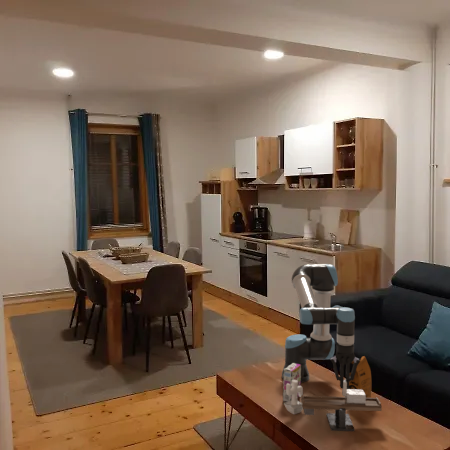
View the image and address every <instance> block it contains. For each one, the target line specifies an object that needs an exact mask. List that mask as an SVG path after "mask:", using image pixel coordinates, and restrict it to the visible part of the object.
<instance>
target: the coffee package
mask: <svg viewBox="0 0 450 450" xmlns="http://www.w3.org/2000/svg"><path fill="white" fill-rule="evenodd" d="M359 360H360V362H359V364H358V365H357V369H356V373H355V376H354V380H353V381H352V380H351V381H350V382H349V389H356V390H363V391H364V393H365V395H366V398H372V384H373V383H372V371H371V367H370V365H369V363H368V360H367V358H366V356H365V355H364V356H361V358H360V359H359ZM353 363H354V360H353V361H352V362H351V364H352V365H353ZM350 374H351V372H350Z"/></svg>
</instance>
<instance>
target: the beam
mask: <svg viewBox="0 0 450 450" xmlns="http://www.w3.org/2000/svg"><path fill="white" fill-rule="evenodd" d="M300 402H301V403H302V407H303V413H304V415H305V416H315V410H328V411H329V410H331V411H332V410H334V411H335V410H339V408H345V410H346V411H362V412H363V411H365V412H369V411H370V412H382V411H383V410H382V409H383V408H382V403H381V401H380V399H379V398H378V397H377V396H375V397H371V398H366V405H358V404H346V402H345V397H344V396H326V395H325V396H323V395H321V396H320V395H313V396H312V395H304V394H303V395H301V397H300Z"/></svg>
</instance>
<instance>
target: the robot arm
mask: <svg viewBox="0 0 450 450" xmlns="http://www.w3.org/2000/svg"><path fill="white" fill-rule="evenodd" d="M292 273H293V274H292V276H291V283H292V287H293V288H294V289H295V290H296V294H297V297H298V300H299V303H300V309H299V311H298V312H299V313H298V315H299V317H298V318H299V323H301V324H302V325H313V330H312V332H311V333H310V336H309V337H307V335H305V334H300V333H299V334H292V335H289V336H287V337H285V338H286V339H285V342H284V343H285V344H284V349H285V350H284V352H285V353H284V354H285V355H284V357H285V359H284V366H283V368H282V371H281V378H282V379H283V374H284V369H285V368H286V367H288V366H289V365H291V364H292V363H296V364H300V365H301V383H305V382H308V381H309V380H310V373H309V369H308V366H307V361H308V360H309V361H310V360H313V361H315V360H323V361H324V360H330V362H331V363H332V365H333V372H334V376H335V378H336V381H339V387H340V389H341V390H342V392H341V395H342V397H347V389H349V382H350V381H351V380H352V381H353V380H354V376H355V373H356V369H357V365H358V364H359V362H360V360H361V359H360V358H358V357H356V355H355V344H354V343H355V320H356V316H355V314H356V313H355V310H354V308H350V307H345V306H344V307H343V306H340V305H334V306H332V307H331V296H332V294H331V293H332V292H333V291H334V290H335V287H336V286H338V284H339V280H338V273H337V270H336V266H335V265H333V264H329V263H317V264H316V263H315V264H314V263H313V264H311V263H309V264H307V263H306V264H302V265H300V266H298V267H297V268H296V269H295V270H294V271H293V272H292ZM330 325H336V342H337V343H336V342H335V339H334V338H333V337H332V334H331V333H330ZM335 344H336V346H335ZM335 349H336V352H335ZM334 354H335V355H334ZM337 361H338V363H339V371H338V367H337V364H336V363H337ZM353 361H354V363H353V364H352V362H353ZM351 364H352V368H351ZM350 368H351V370H350ZM344 370H345V371H344ZM350 371H351V372H350ZM344 373H345V374H344ZM350 373H351V374H350ZM344 375H345V379H344Z"/></svg>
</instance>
